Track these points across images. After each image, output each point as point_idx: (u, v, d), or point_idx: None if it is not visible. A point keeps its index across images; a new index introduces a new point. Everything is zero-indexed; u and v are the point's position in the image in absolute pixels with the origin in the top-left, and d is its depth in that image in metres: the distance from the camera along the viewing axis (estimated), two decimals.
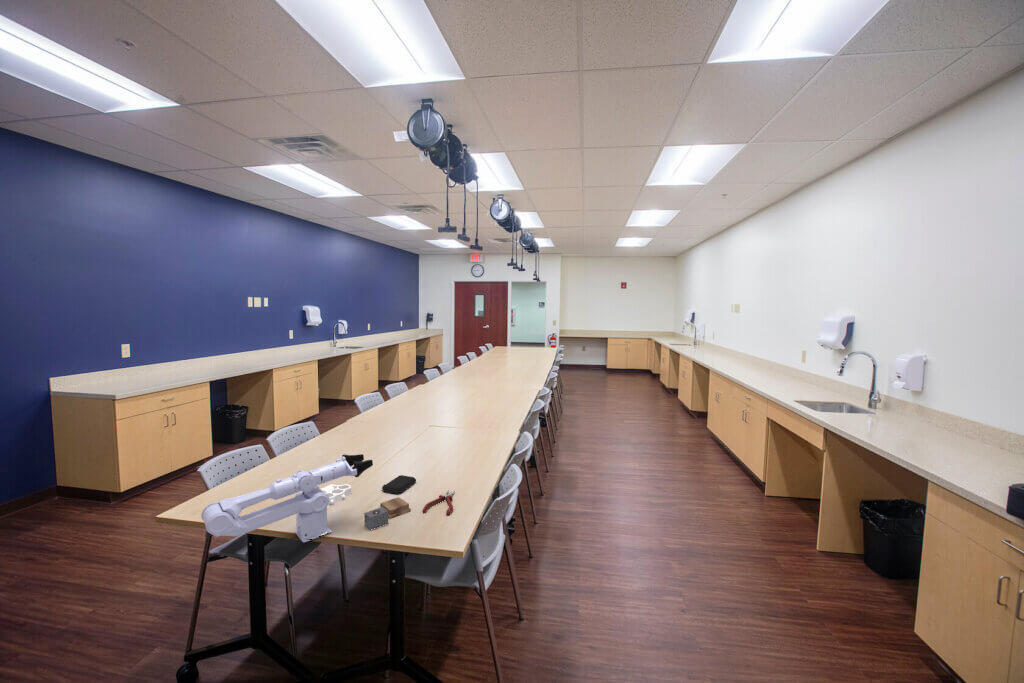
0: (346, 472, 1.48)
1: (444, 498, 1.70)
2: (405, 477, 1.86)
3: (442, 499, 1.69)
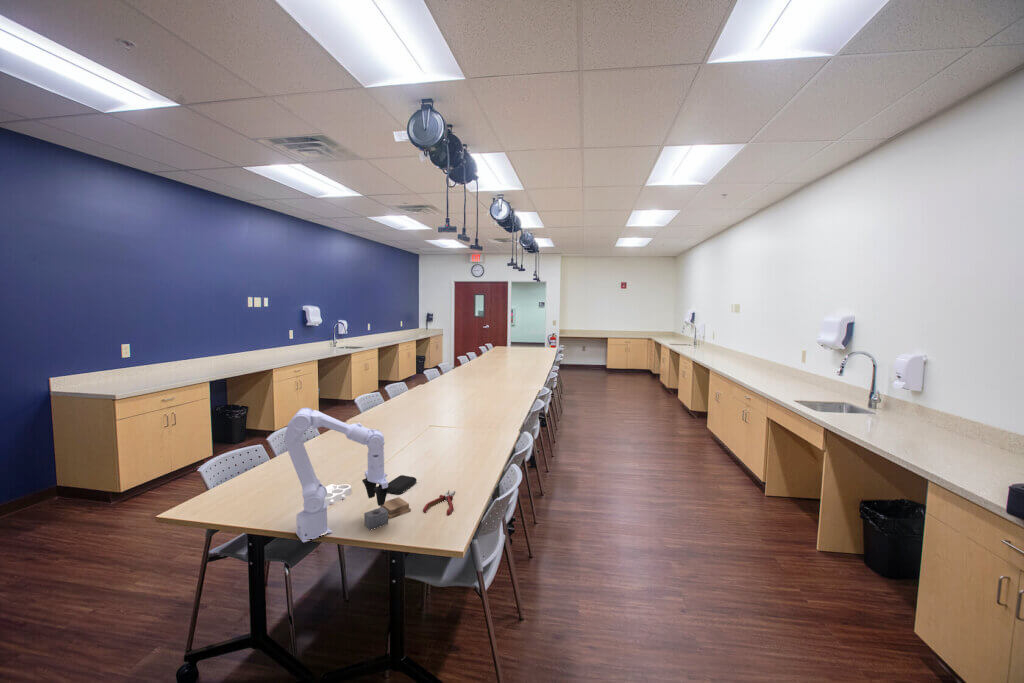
0: (377, 479, 1.46)
1: (444, 498, 1.70)
2: (406, 477, 1.86)
3: (442, 499, 1.70)
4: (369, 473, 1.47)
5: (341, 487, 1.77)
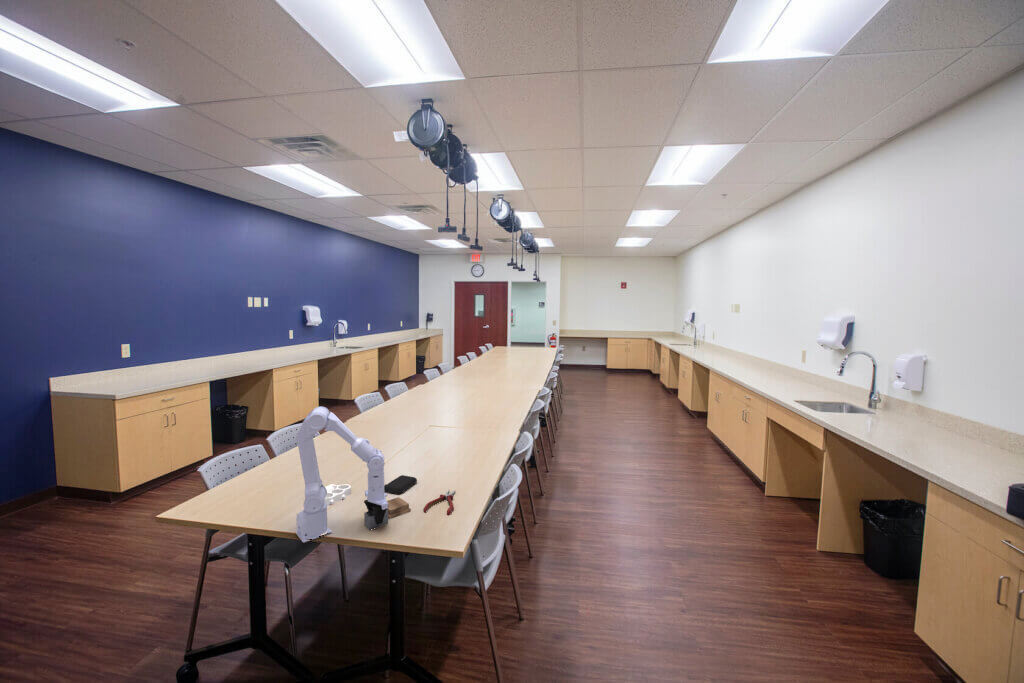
0: (377, 499, 1.47)
1: (445, 497, 1.71)
2: (406, 477, 1.86)
3: (443, 498, 1.70)
4: (369, 494, 1.47)
5: (341, 487, 1.77)
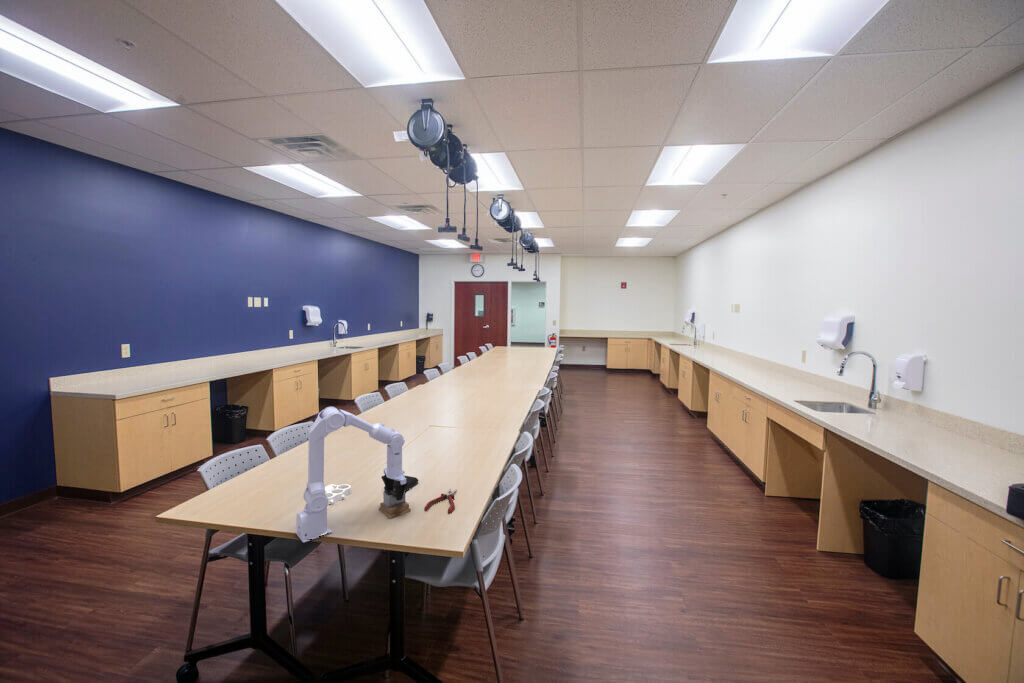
0: (395, 475, 1.57)
1: (446, 496, 1.72)
2: (407, 477, 1.86)
3: (444, 497, 1.71)
4: (388, 470, 1.57)
5: (341, 487, 1.77)
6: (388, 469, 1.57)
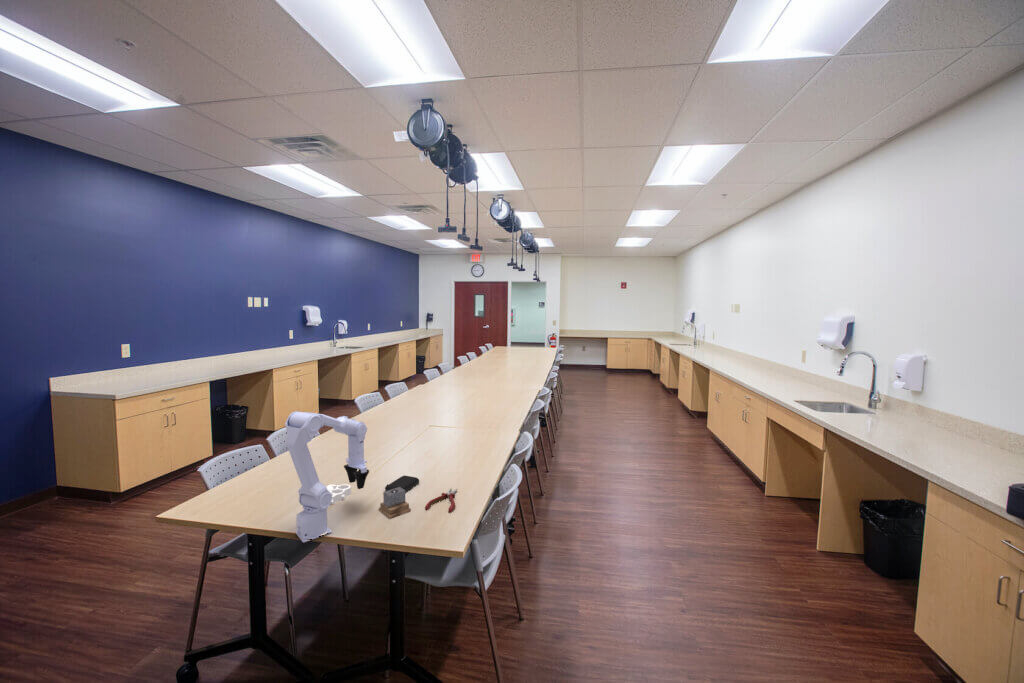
0: (357, 464, 1.59)
1: (447, 496, 1.72)
2: (408, 477, 1.86)
3: (445, 497, 1.72)
4: (349, 459, 1.59)
5: (341, 487, 1.77)
6: (349, 458, 1.59)
